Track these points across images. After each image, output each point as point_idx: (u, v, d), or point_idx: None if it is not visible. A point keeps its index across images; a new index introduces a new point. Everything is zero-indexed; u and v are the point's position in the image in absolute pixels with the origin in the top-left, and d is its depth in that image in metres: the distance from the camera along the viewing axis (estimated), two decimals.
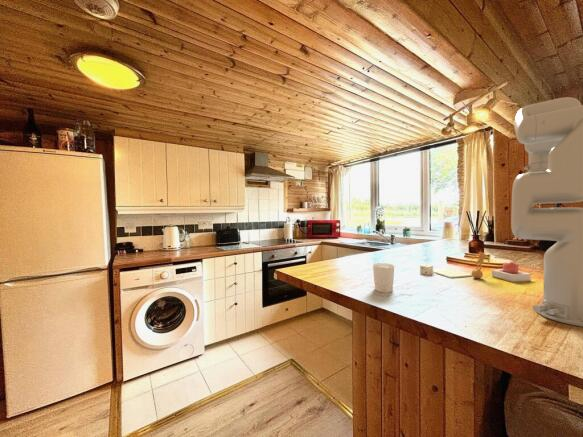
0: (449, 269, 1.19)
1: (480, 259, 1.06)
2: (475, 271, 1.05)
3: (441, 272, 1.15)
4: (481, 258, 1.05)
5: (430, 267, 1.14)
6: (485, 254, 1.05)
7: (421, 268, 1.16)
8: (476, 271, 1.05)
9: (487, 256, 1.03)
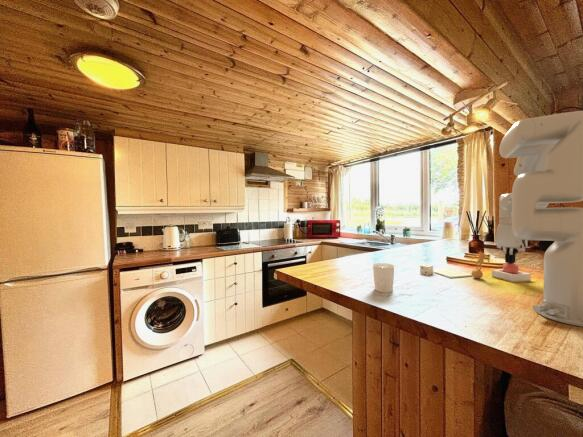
0: (449, 269, 1.19)
1: (480, 259, 1.06)
2: (475, 271, 1.05)
3: (441, 272, 1.15)
4: (481, 258, 1.05)
5: (430, 267, 1.14)
6: (485, 254, 1.05)
7: (421, 268, 1.16)
8: (476, 271, 1.05)
9: (487, 256, 1.04)
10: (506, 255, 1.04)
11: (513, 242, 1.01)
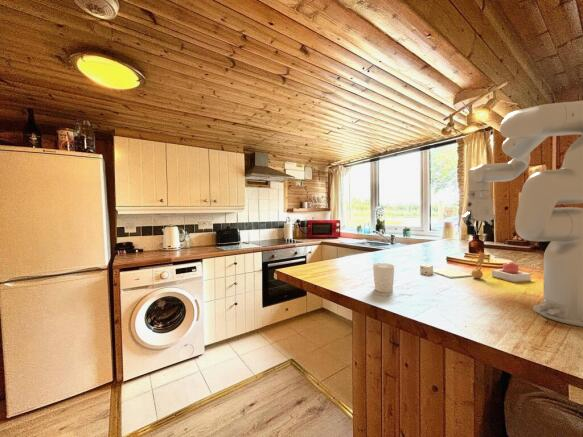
0: (449, 269, 1.19)
1: (480, 259, 1.06)
2: (475, 271, 1.05)
3: (441, 272, 1.15)
4: (481, 258, 1.05)
5: (430, 267, 1.14)
6: (485, 254, 1.05)
7: (421, 268, 1.16)
8: (476, 271, 1.05)
9: (487, 256, 1.04)
10: None
11: None
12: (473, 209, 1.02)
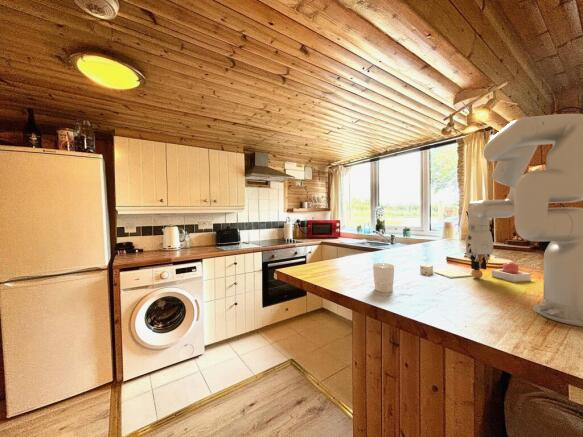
0: (449, 269, 1.19)
1: (479, 259, 1.05)
2: (475, 271, 1.05)
3: (441, 272, 1.15)
4: (480, 258, 1.05)
5: (430, 267, 1.14)
6: None
7: (421, 268, 1.16)
8: (476, 271, 1.05)
9: (486, 256, 1.03)
10: None
11: None
12: (473, 243, 1.03)
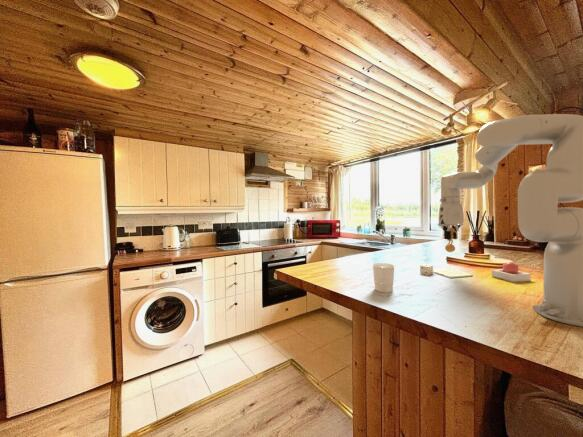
0: (449, 269, 1.19)
1: None
2: (447, 246, 1.13)
3: (441, 272, 1.15)
4: (451, 233, 1.12)
5: (430, 267, 1.14)
6: (453, 229, 1.12)
7: (421, 268, 1.16)
8: (448, 246, 1.12)
9: (455, 231, 1.10)
10: None
11: None
12: (444, 214, 1.10)
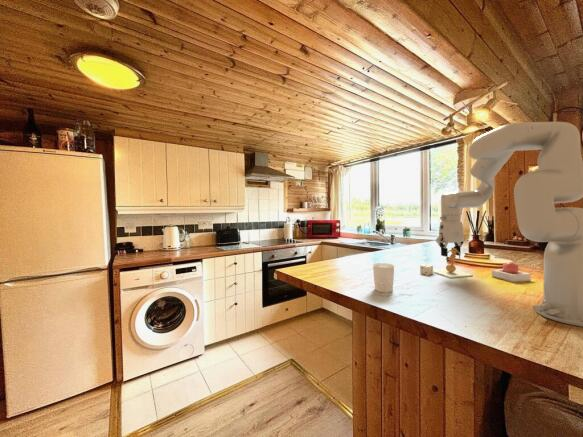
0: None
1: (452, 254, 1.13)
2: (448, 266, 1.13)
3: (441, 272, 1.15)
4: (453, 253, 1.13)
5: (430, 267, 1.14)
6: None
7: (421, 268, 1.16)
8: (449, 266, 1.13)
9: (458, 251, 1.11)
10: None
11: None
12: (444, 232, 1.10)
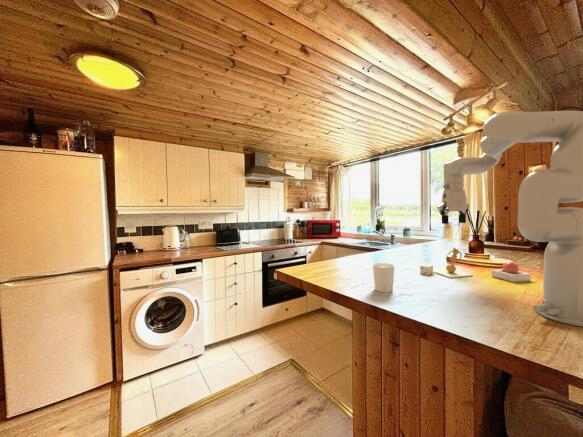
0: None
1: (454, 255, 1.14)
2: (449, 266, 1.13)
3: (441, 272, 1.15)
4: (455, 254, 1.13)
5: (430, 267, 1.14)
6: (458, 250, 1.13)
7: (421, 268, 1.16)
8: (450, 266, 1.13)
9: (460, 252, 1.12)
10: None
11: None
12: (448, 200, 1.10)
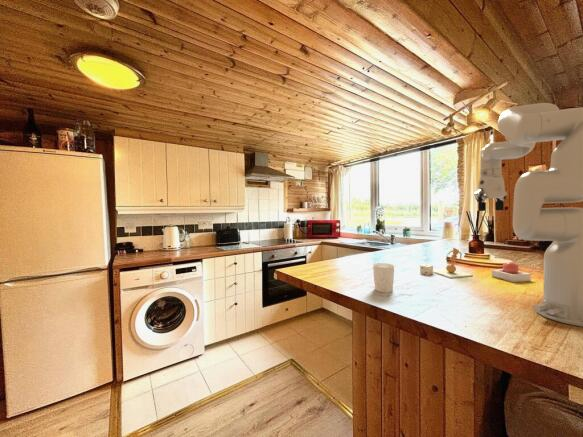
0: None
1: (454, 255, 1.14)
2: (449, 266, 1.13)
3: (441, 272, 1.15)
4: (455, 254, 1.13)
5: (430, 267, 1.14)
6: (458, 250, 1.13)
7: (421, 268, 1.16)
8: (450, 266, 1.13)
9: (460, 252, 1.12)
10: None
11: None
12: (485, 186, 1.07)
